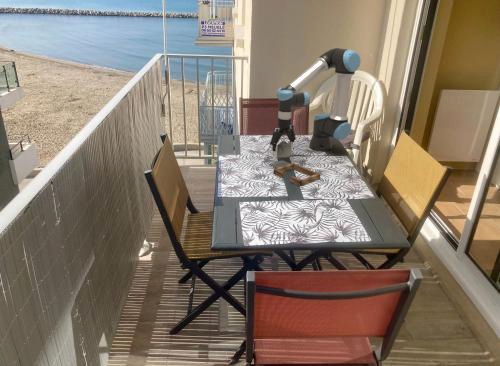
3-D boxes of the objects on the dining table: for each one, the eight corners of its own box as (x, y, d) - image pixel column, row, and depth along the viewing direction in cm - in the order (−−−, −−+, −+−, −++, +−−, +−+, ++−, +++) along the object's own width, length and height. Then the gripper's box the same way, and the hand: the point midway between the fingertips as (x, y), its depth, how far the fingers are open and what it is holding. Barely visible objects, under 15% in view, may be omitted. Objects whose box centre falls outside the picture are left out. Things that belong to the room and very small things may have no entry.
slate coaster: (282, 161, 255) (282, 160, 255) (294, 166, 247) (294, 165, 247) (268, 165, 249) (268, 164, 248) (281, 170, 241) (281, 169, 241)
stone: (285, 142, 237) (285, 136, 246) (271, 152, 240) (272, 146, 249) (295, 154, 240) (295, 148, 249) (281, 164, 243) (281, 158, 252)
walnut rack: (293, 167, 245) (293, 163, 244) (320, 179, 231) (320, 174, 230) (273, 174, 236) (273, 169, 235) (300, 186, 221) (300, 181, 220)
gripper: (294, 113, 246) (292, 148, 255) (264, 119, 232) (263, 156, 240) (303, 116, 241) (300, 151, 249) (273, 122, 226) (271, 160, 235)
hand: (282, 154), depth 245 cm, fingers closed on stone, 11 cm apart
